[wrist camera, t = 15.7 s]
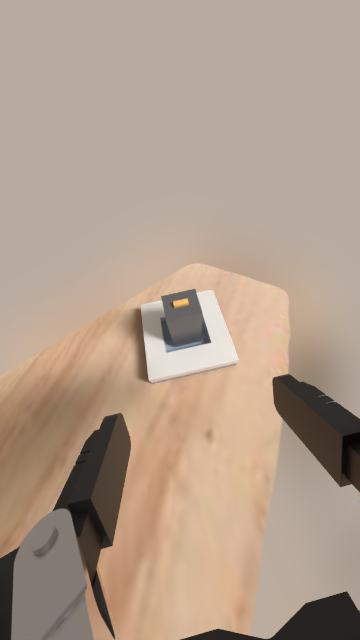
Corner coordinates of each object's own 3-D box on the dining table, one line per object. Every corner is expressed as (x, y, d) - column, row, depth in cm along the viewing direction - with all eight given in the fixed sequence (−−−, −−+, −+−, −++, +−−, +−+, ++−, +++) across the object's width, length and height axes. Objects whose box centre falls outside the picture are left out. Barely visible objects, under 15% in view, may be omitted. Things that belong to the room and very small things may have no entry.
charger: (174, 347, 29) (165, 319, 20) (170, 327, 30) (160, 294, 22) (201, 341, 29) (202, 310, 20) (195, 322, 30) (195, 286, 22)
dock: (152, 383, 27) (148, 380, 25) (144, 312, 33) (140, 305, 31) (235, 364, 27) (239, 360, 25) (211, 297, 33) (212, 289, 31)
